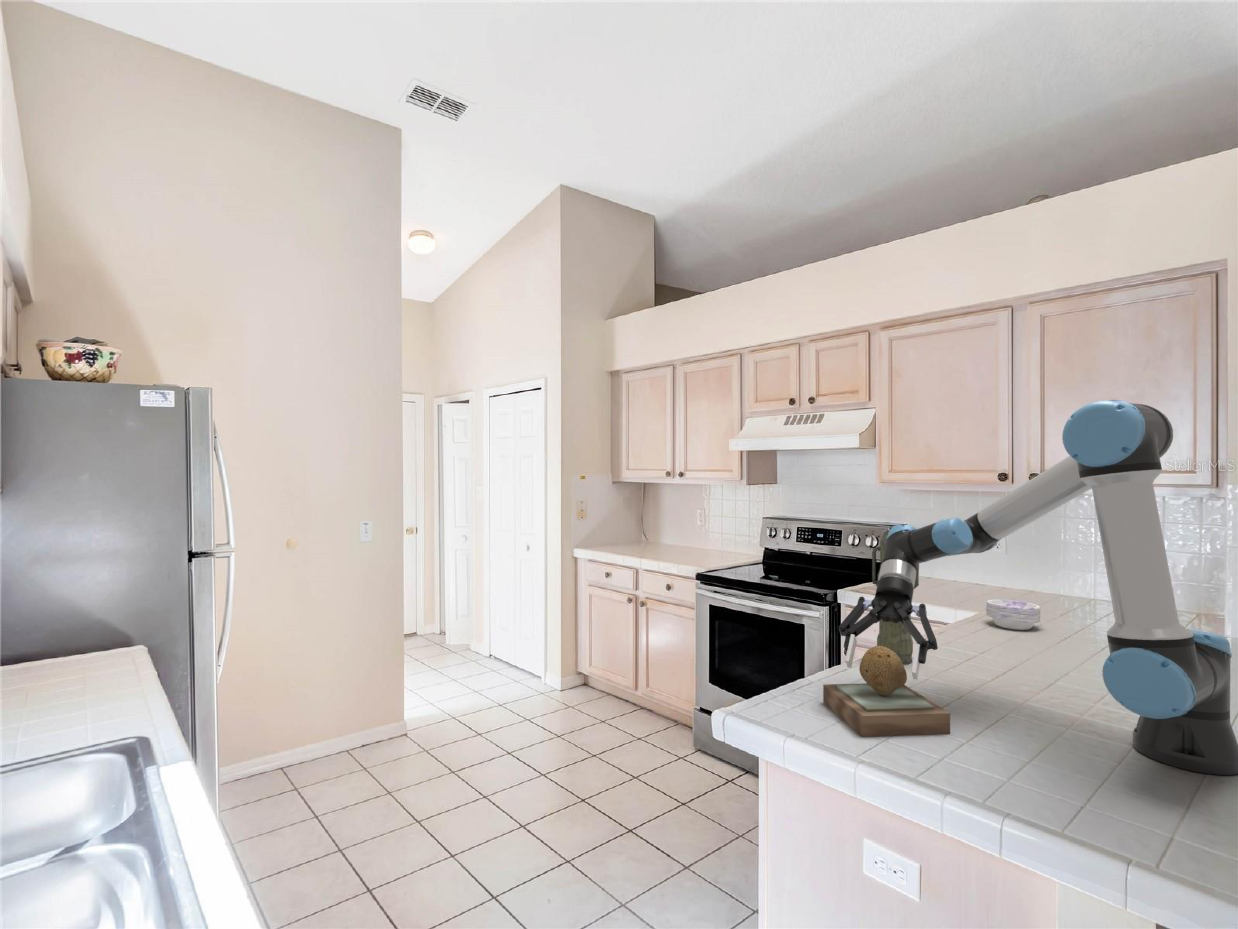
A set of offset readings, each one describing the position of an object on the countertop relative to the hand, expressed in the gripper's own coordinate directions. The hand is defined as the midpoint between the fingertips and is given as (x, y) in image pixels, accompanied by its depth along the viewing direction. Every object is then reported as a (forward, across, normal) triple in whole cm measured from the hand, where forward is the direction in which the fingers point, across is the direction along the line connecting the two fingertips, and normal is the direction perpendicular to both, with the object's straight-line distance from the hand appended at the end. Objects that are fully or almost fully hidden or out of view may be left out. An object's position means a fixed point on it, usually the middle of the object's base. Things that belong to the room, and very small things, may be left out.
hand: (880, 670), depth 131 cm
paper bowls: (-70, -19, -85) cm, 112 cm away
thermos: (-26, +6, -41) cm, 49 cm away
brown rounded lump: (+2, 0, -6) cm, 7 cm away
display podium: (+6, 0, -9) cm, 11 cm away
